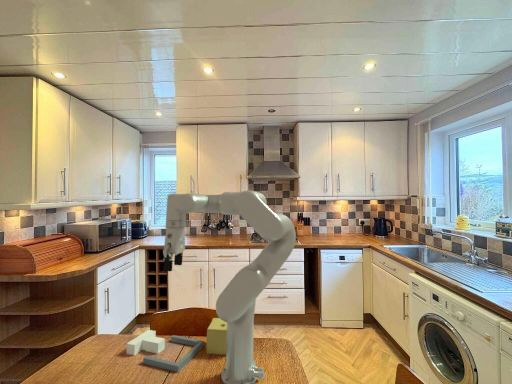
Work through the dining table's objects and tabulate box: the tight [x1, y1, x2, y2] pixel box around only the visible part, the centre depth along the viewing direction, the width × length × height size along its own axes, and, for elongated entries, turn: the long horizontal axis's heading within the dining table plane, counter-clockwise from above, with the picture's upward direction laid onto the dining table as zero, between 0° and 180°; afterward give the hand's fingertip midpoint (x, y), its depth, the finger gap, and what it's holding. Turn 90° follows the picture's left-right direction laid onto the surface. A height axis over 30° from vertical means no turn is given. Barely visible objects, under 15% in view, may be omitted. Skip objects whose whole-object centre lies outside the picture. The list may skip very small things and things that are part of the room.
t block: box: [126, 329, 166, 356], centre depth 103 cm, size 12×12×4 cm
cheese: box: [206, 317, 227, 356], centre depth 104 cm, size 10×11×10 cm
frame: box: [142, 334, 205, 373], centre depth 99 cm, size 16×18×2 cm
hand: (173, 267), depth 98 cm, fingers open, 9 cm apart
